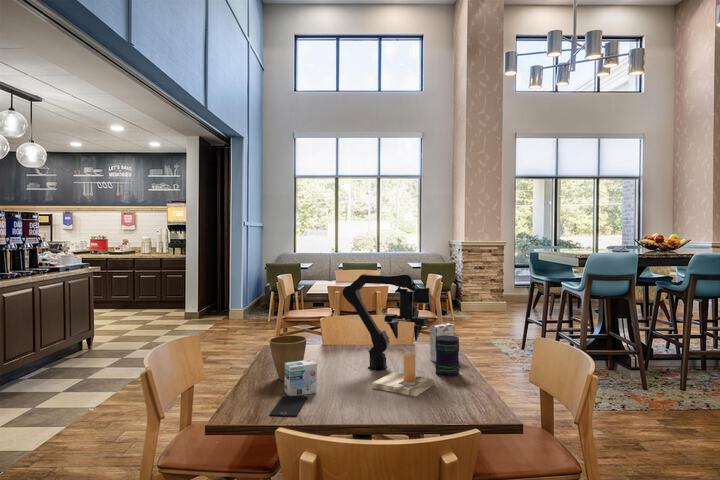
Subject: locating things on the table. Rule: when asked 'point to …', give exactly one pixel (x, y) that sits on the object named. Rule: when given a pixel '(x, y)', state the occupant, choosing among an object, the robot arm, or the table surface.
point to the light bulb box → (300, 377)
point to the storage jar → (447, 356)
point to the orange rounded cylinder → (409, 370)
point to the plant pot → (287, 351)
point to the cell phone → (288, 406)
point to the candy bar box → (439, 331)
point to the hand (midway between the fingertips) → (406, 339)
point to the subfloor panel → (396, 384)
